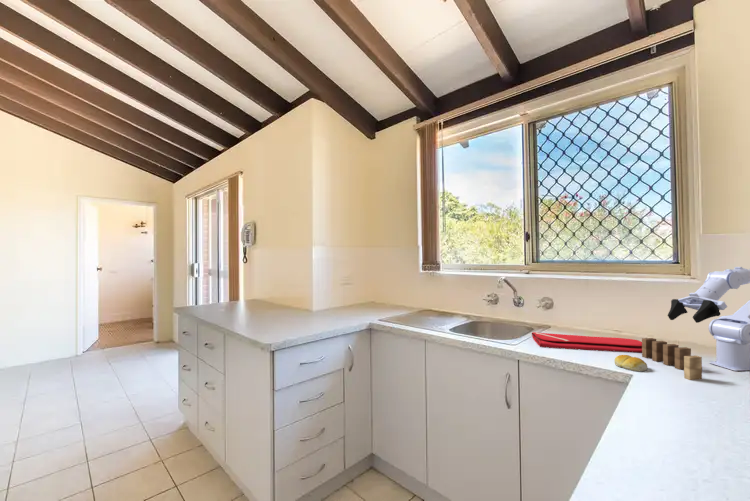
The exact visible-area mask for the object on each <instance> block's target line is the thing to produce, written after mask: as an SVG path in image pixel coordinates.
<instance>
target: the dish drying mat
mask: <svg viewBox="0 0 750 501" xmlns="http://www.w3.org/2000/svg"><path fill="white" fill-rule="evenodd" d="M531 336H532V337H531V338H532V339H533V341H534V342H535V343H536V345H537V346H539V348H546V347H549V348H550V349H561V348H565V350H578V349H580V350H581V351H596V350H598V351H597V352H600V351H601V352H614V353H615V352H617V353H618V352H619V353H639V354H642V340H641V341H640V340H638V339H634V338H625V337H624V338H623V337H611V336H610V337H609V336H608V337H607V336H590V335H576V334H563V333H562V334H561V333H550V332H549V333H545V332H534V331H533V332H531ZM580 350H579V351H580Z"/></svg>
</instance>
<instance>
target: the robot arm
mask: <svg viewBox="0 0 750 501" xmlns="http://www.w3.org/2000/svg"><path fill="white" fill-rule="evenodd" d="M706 276H707V277H706V279H705V280H704V281H703V284H702V285H701V286H700V287H699V288H698V289H697V290H696V291H695V292H690V293H688V296H684V297H681V298H673V299H671V300H670V303H671V306H670V309H669V311H668V313H667V317H668V319H669V320H670V321H674V320H675V319H677V318H678V317H679V316H682V315H684V314H687V313H688V312H689V311H688V310H687V309H686V308H689V309H692V310H696V312H695V313H694V314H693V316H692V319H693V320H694V322H695V323H698V324H699V323H701V322H703V321H705V320H708V319H710V318H713V317H718V318H714V319H712V320H711V321H710V322H709V324H708V332H709V333H710V335H711V336H712V337H713V339H714V340H715V342H716V343H715V344H716V345H715V347H716V348H715V349H716V350H715V353H716V354H715V355H716V360H713V361H709V362H708V363H709V364H710V365H715V366H718V367H721V368H723V369H724V368H725V369H728V370H730V371H731V370H732V371H735V372H738V371H739V372H740V371H750V299H749V300H748V301H747V302H746V303H744V304H743V305H741V307H739V309H738V310H736V311H735V312H734V313H732V314H729V315H722V316H721V311H724V310H725V309H727V308H728V305H727V303H726V302H725V301H723V300H720V299H721V298H722V297H723V296H724V295H725V294H726V293H727V292H729V290H738V289H739V288H740V287H741V286H743V285H748V284H750V268H744V267H743V266H734V268H733V269H731V268H727V269H724V270H723V271H720V270H719V271H718V270H714V271H712V272H711V271H710V272H708V274H707V275H706Z"/></svg>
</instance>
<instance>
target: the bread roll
mask: <svg viewBox="0 0 750 501" xmlns="http://www.w3.org/2000/svg"><path fill="white" fill-rule="evenodd" d="M614 364H615V365H616V366H617V367H619V368H623V370H624V369H625V370H626V371H633V372H645V371H647V370H648V364H647V362H645V361H644V360H643V359H641V358H639V357H636V356H632V355H629V354H619V355H616V357H615V358H614Z"/></svg>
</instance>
